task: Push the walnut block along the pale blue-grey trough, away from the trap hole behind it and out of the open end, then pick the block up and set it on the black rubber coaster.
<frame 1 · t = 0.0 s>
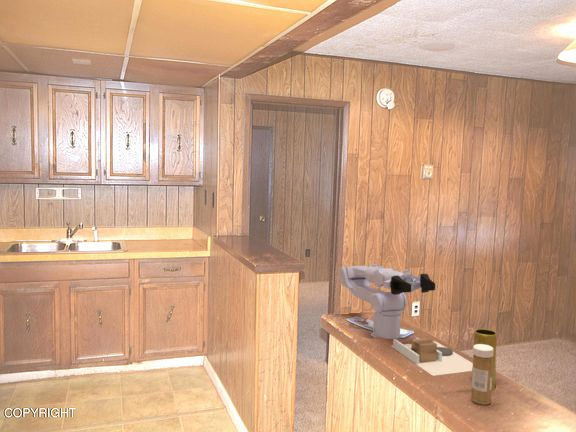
hand: (422, 287, 144), 22 cm above the counter, tool horizontal, fingers open, 7 cm apart
vase: (483, 386, 130), on the counter
coaster: (442, 352, 149), resting on board
sprinkles bottle: (480, 401, 122), on the counter
walnut block: (423, 358, 144), point 1 cm above the counter, touching board
board: (433, 361, 146), on the counter
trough: (416, 354, 148), resting on board
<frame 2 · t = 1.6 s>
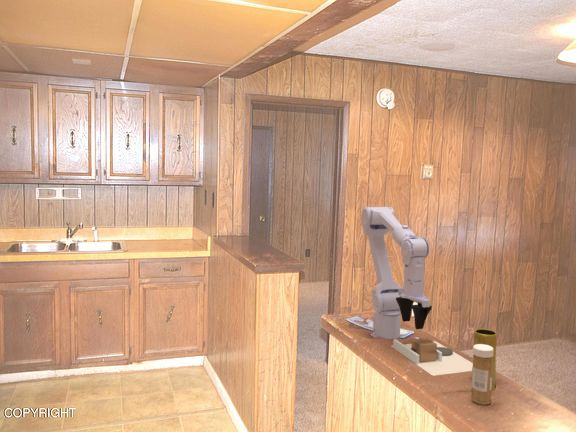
hand: (412, 324, 150), 9 cm above the counter, tool pointing down, fingers open, 7 cm apart
nothing on the counter moved.
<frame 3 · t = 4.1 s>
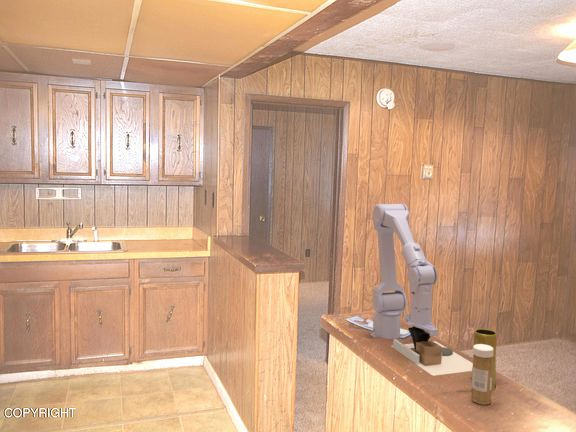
hand: (419, 352, 146), 2 cm above the counter, tool pointing down, fingers closed
walnut block: (428, 361, 142), point 1 cm above the counter, touching board
everything else where it was.
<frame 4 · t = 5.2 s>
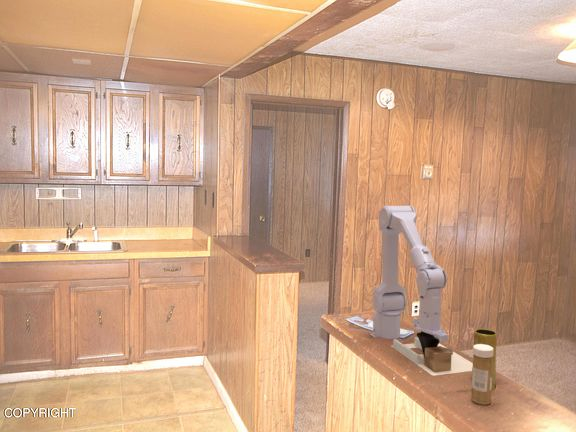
hand: (428, 358, 142), 2 cm above the counter, tool pointing down, fingers closed
walnut block: (437, 367, 138), point 1 cm above the counter, touching board, gripper
everything else where it was.
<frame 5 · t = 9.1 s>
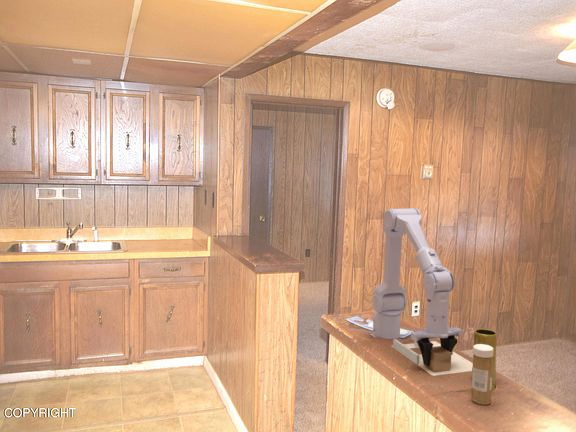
hand: (435, 363, 138), 2 cm above the counter, tool pointing down, fingers closed on walnut block, 5 cm apart
walnut block: (437, 368, 138), point 1 cm above the counter, touching board, gripper
everything else where it was.
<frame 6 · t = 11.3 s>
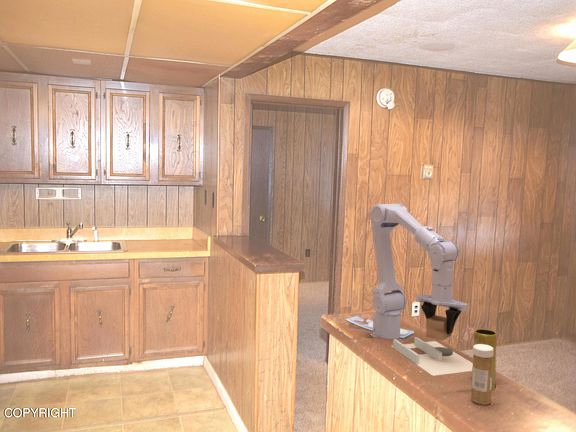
hand: (440, 330, 144), 9 cm above the counter, tool pointing down, fingers closed on walnut block, 5 cm apart
walnut block: (438, 336, 144), point 8 cm above the counter, touching gripper
everything else where it was.
when the fingers open (4 cm above the counter, at t = 13.1 s): walnut block drops 1 cm, resting on coaster.
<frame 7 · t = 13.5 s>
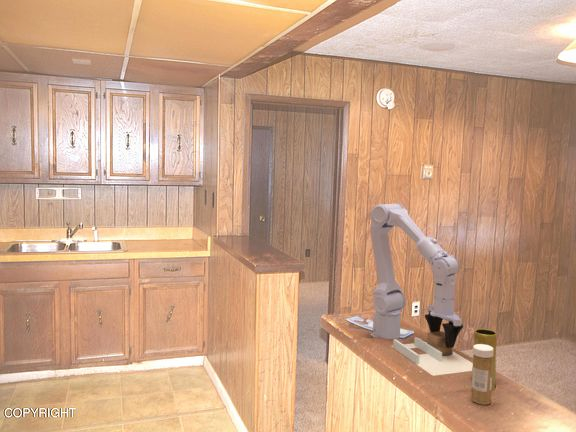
hand: (442, 342, 149), 4 cm above the counter, tool pointing down, fingers open, 7 cm apart
walnut block: (439, 351, 149), point 2 cm above the counter, touching coaster
everything else where it was.
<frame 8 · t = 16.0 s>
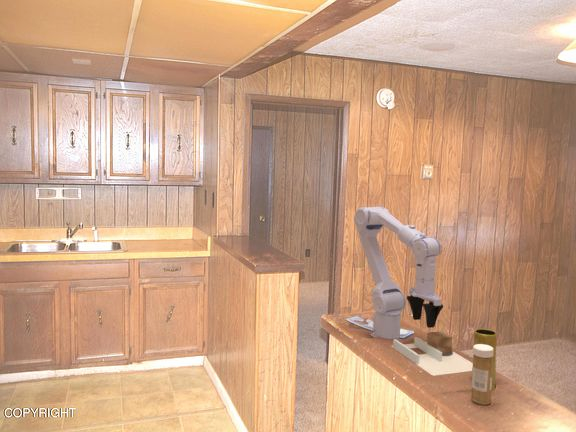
hand: (423, 323, 151), 9 cm above the counter, tool pointing down, fingers open, 7 cm apart
nothing on the counter moved.
at the end: walnut block 1.0 cm off-centre on the coaster, point 0.5 cm above the coaster's base; walnut block tilted 0°; the gripper is holding nothing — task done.
